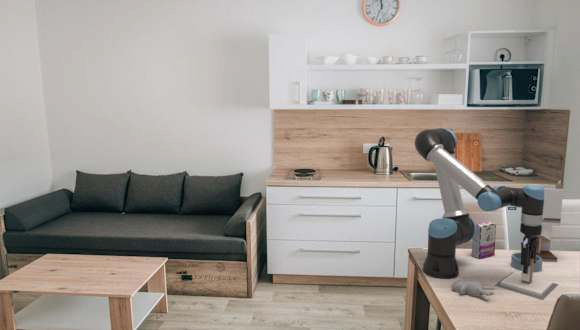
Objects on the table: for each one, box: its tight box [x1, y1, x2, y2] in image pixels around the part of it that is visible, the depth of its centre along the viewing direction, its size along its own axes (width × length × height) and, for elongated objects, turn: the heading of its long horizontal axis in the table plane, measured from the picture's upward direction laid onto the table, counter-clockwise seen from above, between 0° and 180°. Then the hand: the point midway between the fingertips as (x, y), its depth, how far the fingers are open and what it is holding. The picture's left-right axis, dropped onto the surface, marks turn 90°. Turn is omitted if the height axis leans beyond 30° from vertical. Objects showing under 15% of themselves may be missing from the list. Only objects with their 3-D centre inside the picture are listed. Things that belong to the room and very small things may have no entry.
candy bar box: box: [471, 221, 497, 260], centre depth 210 cm, size 11×5×16 cm, turn 117°
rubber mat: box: [493, 271, 560, 301], centre depth 176 cm, size 20×18×1 cm
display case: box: [528, 183, 564, 263], centre depth 206 cm, size 11×11×35 cm
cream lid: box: [499, 258, 554, 297], centre depth 176 cm, size 15×15×11 cm
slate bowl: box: [510, 251, 544, 273], centre depth 195 cm, size 12×12×6 cm
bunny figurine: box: [450, 279, 495, 298], centre depth 170 cm, size 10×5×15 cm
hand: (526, 279), depth 176 cm, fingers closed on cream lid, 3 cm apart
